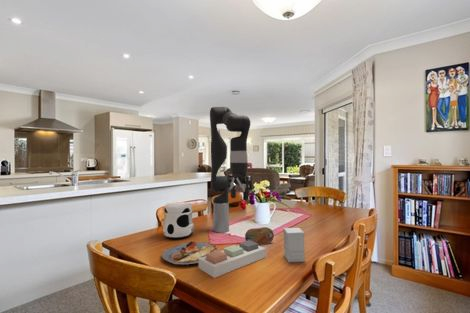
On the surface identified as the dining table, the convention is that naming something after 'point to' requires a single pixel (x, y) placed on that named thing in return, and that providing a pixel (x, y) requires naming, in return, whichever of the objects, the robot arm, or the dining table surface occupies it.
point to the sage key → (233, 251)
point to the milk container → (178, 220)
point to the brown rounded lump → (260, 235)
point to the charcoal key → (248, 245)
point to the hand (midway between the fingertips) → (239, 199)
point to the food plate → (188, 252)
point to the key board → (231, 262)
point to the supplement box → (294, 245)
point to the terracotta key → (216, 256)
